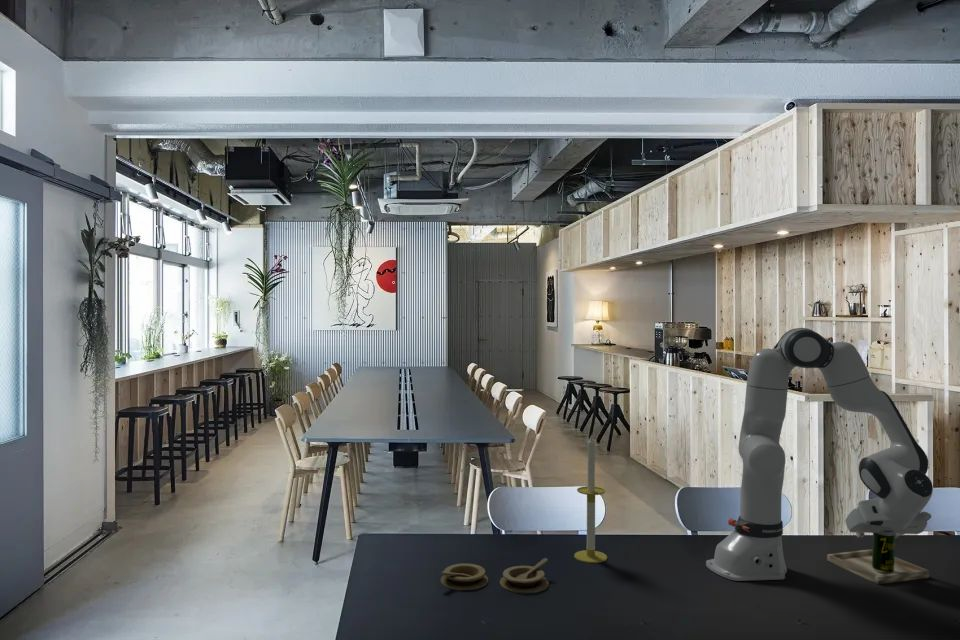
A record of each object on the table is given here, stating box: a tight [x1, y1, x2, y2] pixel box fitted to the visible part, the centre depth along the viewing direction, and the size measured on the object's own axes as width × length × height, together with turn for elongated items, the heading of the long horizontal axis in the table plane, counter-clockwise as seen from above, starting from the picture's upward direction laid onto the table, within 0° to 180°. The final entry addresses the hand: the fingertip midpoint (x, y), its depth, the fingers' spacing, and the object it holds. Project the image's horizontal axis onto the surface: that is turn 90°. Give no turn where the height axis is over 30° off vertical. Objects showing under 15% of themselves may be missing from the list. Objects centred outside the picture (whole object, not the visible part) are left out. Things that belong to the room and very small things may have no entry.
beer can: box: [872, 531, 896, 574], centre depth 191 cm, size 5×5×12 cm
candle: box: [573, 433, 608, 564], centre depth 203 cm, size 10×10×38 cm
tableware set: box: [440, 557, 549, 595], centre depth 184 cm, size 30×20×6 cm, turn 85°
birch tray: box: [826, 548, 930, 585], centre depth 194 cm, size 18×18×2 cm
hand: (875, 535), depth 195 cm, fingers open, 8 cm apart
